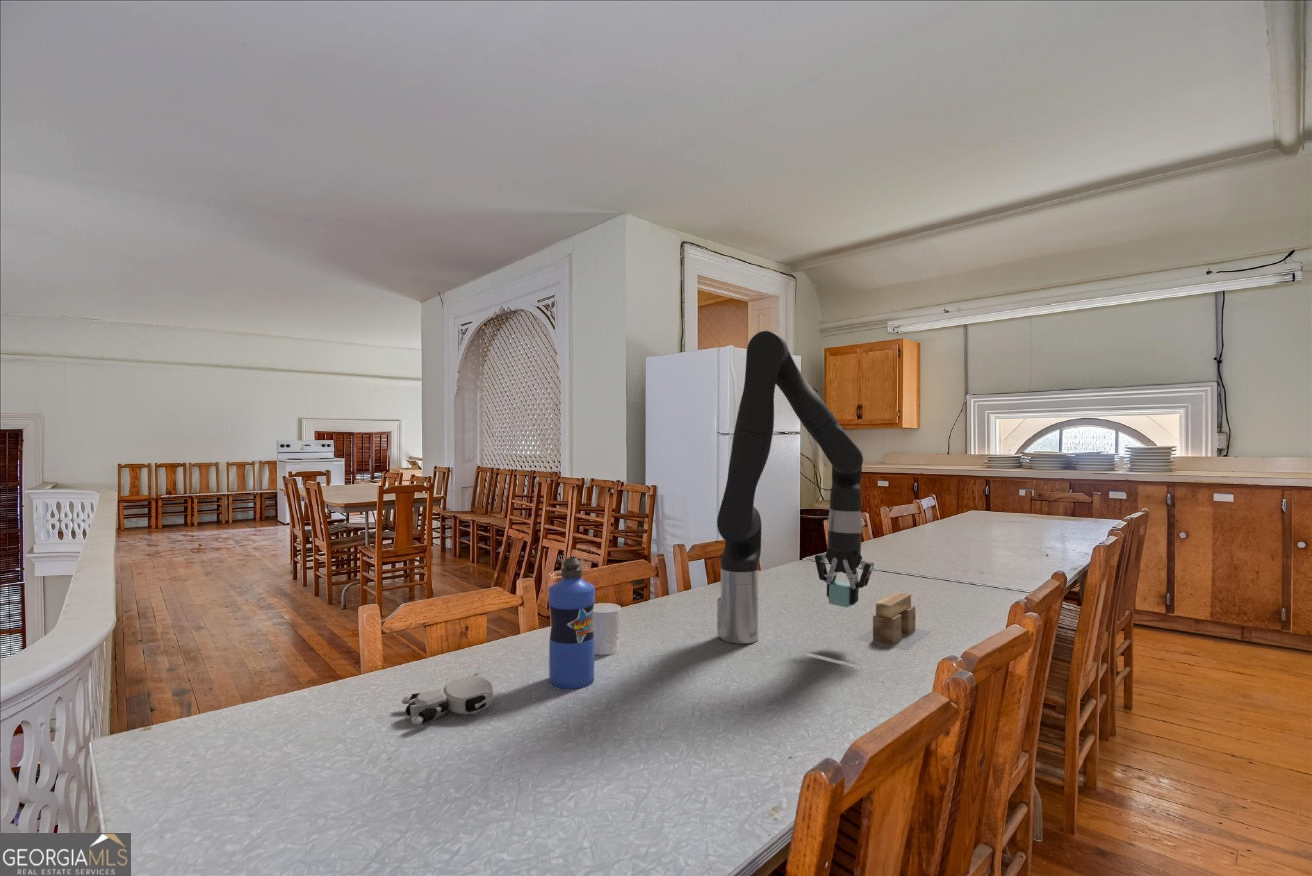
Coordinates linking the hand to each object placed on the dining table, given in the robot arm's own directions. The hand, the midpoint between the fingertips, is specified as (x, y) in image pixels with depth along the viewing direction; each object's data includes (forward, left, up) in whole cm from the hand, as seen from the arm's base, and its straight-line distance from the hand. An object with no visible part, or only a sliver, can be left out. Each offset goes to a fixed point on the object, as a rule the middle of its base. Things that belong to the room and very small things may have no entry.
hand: (842, 601), depth 146 cm
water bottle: (-34, -54, -11) cm, 65 cm away
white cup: (-42, -37, -11) cm, 57 cm away
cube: (0, 0, -1) cm, 1 cm away
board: (+6, +16, -11) cm, 21 cm away
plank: (+6, +16, -4) cm, 18 cm away
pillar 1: (+6, +11, -10) cm, 16 cm away
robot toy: (-39, -78, -12) cm, 88 cm away
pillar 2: (+6, +21, -10) cm, 24 cm away
